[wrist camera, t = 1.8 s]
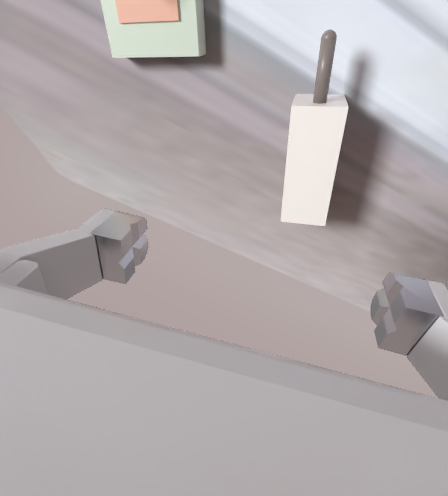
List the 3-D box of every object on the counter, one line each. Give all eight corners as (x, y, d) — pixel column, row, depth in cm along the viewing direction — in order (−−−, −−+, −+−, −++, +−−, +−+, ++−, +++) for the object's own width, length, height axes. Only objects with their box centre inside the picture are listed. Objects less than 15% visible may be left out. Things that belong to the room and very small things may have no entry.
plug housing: (356, 28, 23) (364, 28, 19) (324, 201, 31) (324, 226, 27) (302, 30, 24) (298, 31, 20) (285, 197, 32) (280, 221, 28)
